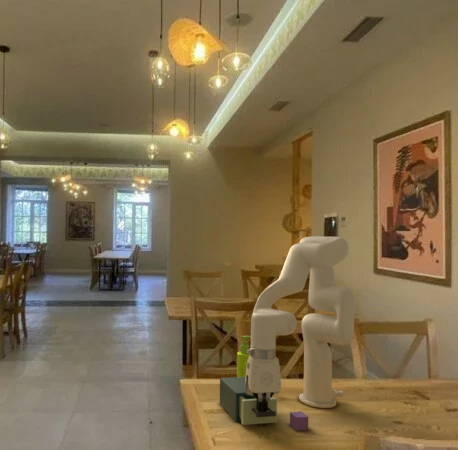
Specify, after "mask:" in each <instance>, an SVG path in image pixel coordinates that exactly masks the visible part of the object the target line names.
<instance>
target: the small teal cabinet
mask: <svg viewBox="0 0 458 450" xmlns="http://www.w3.org/2000/svg"><path fill="white" fill-rule="evenodd" d="M245 378H246V377H237V376H231V377H220V378H219V405H220V407H222V409H224V411H225V412H226V414H228V416H230V417H231V418H232V420H233V421H234V422H235V423H239V422H241V419H240V418H239V417H238V395H248V394H246V392H245V391H246V385H245ZM262 394H263V393H262ZM271 398H273V396H272V397H271Z"/></svg>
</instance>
